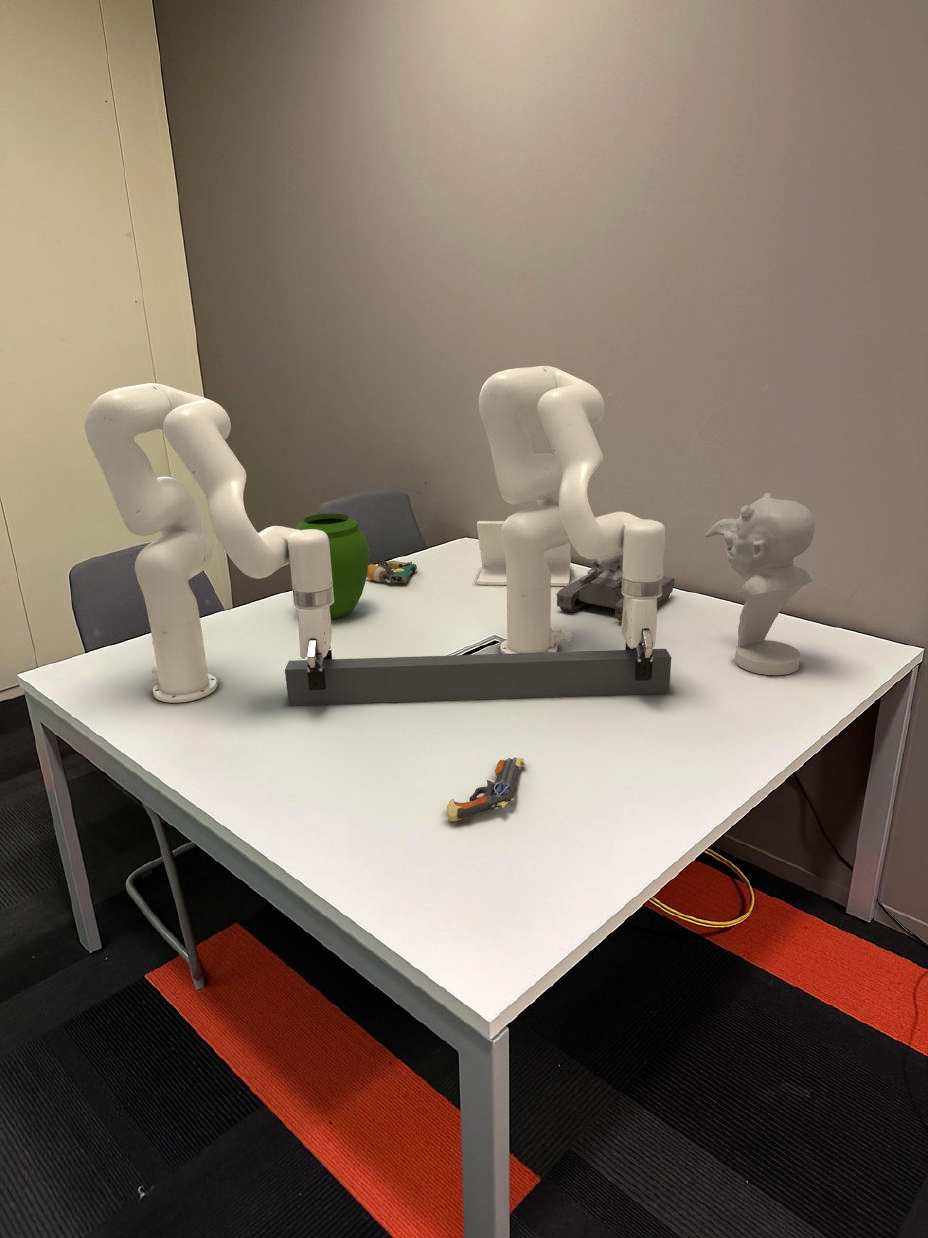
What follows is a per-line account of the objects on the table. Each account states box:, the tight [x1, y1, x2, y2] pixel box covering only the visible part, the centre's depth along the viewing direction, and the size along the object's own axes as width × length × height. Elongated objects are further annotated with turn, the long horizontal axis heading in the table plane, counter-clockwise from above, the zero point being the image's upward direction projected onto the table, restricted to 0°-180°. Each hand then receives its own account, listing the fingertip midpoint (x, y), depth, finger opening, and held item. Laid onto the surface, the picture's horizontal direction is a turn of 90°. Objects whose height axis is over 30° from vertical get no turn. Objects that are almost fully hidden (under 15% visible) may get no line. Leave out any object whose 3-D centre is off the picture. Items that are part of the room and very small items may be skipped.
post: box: [284, 648, 672, 707], centre depth 167 cm, size 74×4×8 cm, turn 91°
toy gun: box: [446, 756, 526, 822], centre depth 134 cm, size 3×19×10 cm
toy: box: [556, 551, 676, 622], centre depth 212 cm, size 25×20×15 cm
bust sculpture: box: [704, 492, 816, 676], centre depth 176 cm, size 16×24×35 cm, turn 28°
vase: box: [295, 512, 370, 620], centre depth 209 cm, size 20×20×24 cm
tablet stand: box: [476, 520, 572, 587], centre depth 236 cm, size 18×25×17 cm
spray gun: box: [366, 560, 418, 584], centre depth 241 cm, size 4×17×15 cm
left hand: (321, 678), depth 167 cm, fingers open, 9 cm apart
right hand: (637, 669), depth 167 cm, fingers open, 9 cm apart
